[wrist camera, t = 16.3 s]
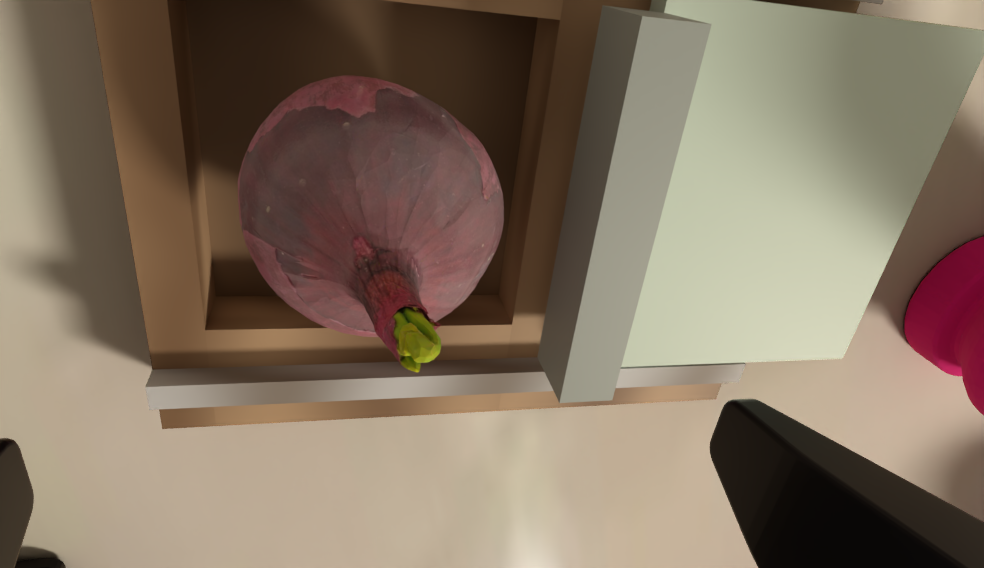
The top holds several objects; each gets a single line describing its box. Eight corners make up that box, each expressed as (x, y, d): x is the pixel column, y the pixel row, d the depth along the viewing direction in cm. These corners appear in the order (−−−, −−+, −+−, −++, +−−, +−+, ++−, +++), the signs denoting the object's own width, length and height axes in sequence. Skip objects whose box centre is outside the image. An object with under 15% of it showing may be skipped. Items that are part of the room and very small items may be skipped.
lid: (528, 355, 20) (556, 416, 18) (594, -21, 15) (648, -11, 12) (827, 346, 23) (889, 397, 20) (969, 27, 18) (1075, 44, 15)
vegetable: (423, 279, 20) (487, 526, 12) (227, 219, 18) (134, 474, 10) (503, 107, 18) (652, 260, 10) (292, 11, 16) (246, 105, 7)
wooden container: (179, 379, 21) (155, 447, 18) (91, -221, 13) (30, -259, 11) (685, 361, 26) (727, 412, 23) (830, -89, 18) (918, -93, 15)
